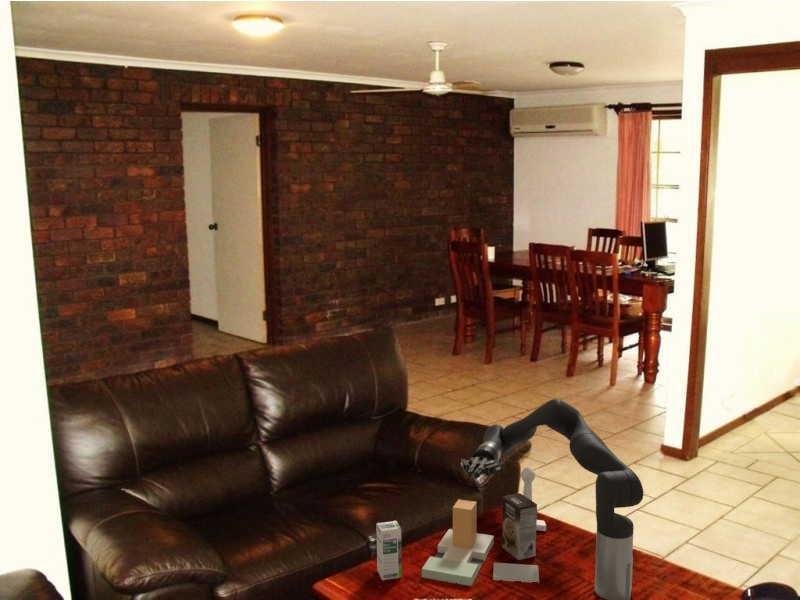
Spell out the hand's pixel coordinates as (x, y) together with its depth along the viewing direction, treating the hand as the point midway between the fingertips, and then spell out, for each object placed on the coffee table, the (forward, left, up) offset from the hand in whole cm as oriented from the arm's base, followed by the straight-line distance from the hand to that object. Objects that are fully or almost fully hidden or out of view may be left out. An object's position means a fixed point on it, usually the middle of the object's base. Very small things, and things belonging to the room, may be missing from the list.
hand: (473, 475), depth 233 cm
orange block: (0, +9, -17) cm, 20 cm away
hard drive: (-17, +17, -21) cm, 32 cm away
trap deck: (0, +15, -20) cm, 25 cm away
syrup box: (+16, +29, -20) cm, 39 cm away
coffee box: (-15, +4, -20) cm, 25 cm away
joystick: (-15, -10, -20) cm, 27 cm away
